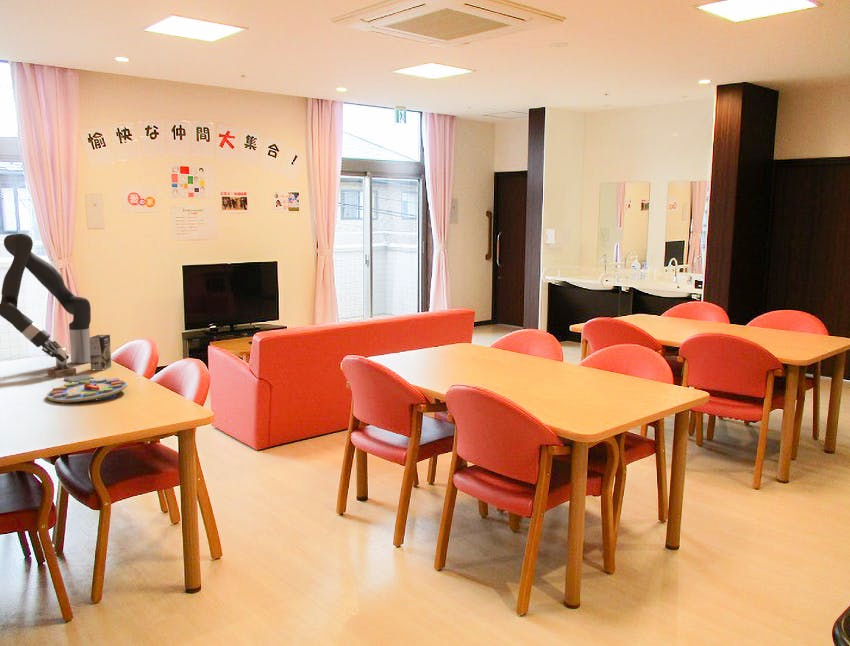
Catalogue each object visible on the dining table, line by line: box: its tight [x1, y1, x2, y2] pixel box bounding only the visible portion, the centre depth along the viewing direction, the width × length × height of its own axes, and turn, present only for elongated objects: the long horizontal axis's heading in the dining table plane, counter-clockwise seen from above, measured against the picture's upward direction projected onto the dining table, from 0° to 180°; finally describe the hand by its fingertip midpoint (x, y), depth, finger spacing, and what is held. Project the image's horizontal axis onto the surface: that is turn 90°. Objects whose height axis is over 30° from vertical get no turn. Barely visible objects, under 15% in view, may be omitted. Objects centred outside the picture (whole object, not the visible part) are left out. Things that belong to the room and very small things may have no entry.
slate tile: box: [63, 374, 95, 383], centre depth 328 cm, size 9×9×1 cm
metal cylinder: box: [55, 347, 68, 370], centre depth 337 cm, size 4×4×10 cm
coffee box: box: [89, 334, 112, 371], centre depth 351 cm, size 9×6×16 cm
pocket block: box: [46, 365, 77, 378], centre depth 338 cm, size 9×9×3 cm
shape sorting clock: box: [46, 377, 128, 404], centre depth 301 cm, size 31×30×6 cm
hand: (65, 359), depth 337 cm, fingers closed on metal cylinder, 4 cm apart
